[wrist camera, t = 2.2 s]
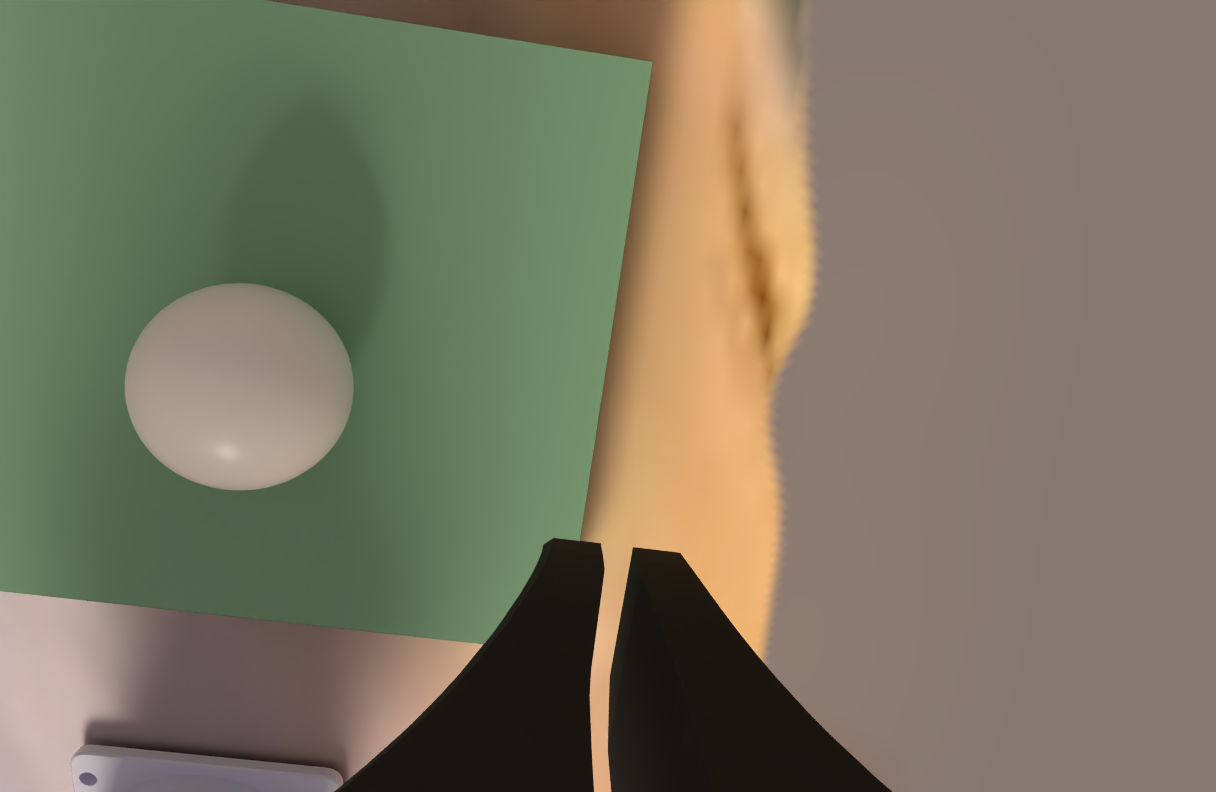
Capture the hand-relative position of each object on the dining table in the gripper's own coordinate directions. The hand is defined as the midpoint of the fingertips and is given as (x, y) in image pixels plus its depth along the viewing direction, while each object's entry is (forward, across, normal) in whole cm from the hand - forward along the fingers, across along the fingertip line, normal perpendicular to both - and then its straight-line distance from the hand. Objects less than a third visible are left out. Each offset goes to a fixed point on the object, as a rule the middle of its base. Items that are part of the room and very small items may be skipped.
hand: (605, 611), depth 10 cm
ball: (+6, +7, 0) cm, 9 cm away
